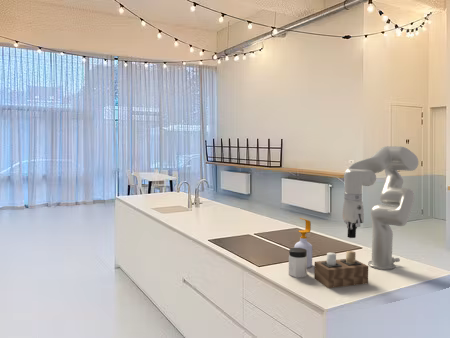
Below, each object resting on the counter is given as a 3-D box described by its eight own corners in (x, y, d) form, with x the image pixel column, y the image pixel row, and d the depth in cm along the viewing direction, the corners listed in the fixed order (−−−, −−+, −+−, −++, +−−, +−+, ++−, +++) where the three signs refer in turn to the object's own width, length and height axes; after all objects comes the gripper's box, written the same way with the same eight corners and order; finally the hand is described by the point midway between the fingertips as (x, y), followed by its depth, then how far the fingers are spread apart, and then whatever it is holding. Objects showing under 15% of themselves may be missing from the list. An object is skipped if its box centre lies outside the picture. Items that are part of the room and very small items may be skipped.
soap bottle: (290, 263, 197) (291, 217, 195) (305, 261, 200) (306, 215, 198) (300, 268, 188) (300, 220, 187) (315, 266, 192) (316, 219, 190)
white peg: (332, 268, 172) (333, 252, 172) (337, 271, 169) (337, 254, 168) (324, 269, 171) (325, 253, 171) (329, 272, 167) (329, 255, 167)
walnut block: (352, 274, 180) (352, 257, 179) (367, 283, 169) (368, 265, 168) (314, 278, 175) (314, 260, 174) (328, 288, 163) (328, 269, 163)
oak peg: (351, 266, 175) (352, 250, 175) (356, 269, 171) (357, 253, 171) (344, 267, 174) (344, 251, 173) (349, 270, 170) (349, 253, 170)
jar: (284, 273, 181) (285, 249, 180) (296, 270, 186) (297, 246, 185) (298, 279, 174) (299, 253, 173) (310, 275, 179) (311, 250, 178)
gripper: (370, 199, 164) (369, 241, 165) (350, 195, 179) (349, 233, 180) (355, 199, 162) (354, 241, 163) (336, 195, 177) (335, 234, 177)
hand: (351, 237), depth 171 cm, fingers closed
